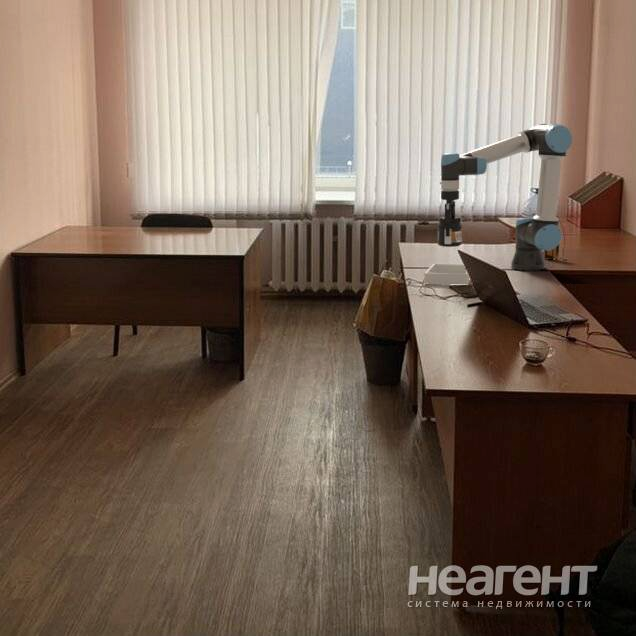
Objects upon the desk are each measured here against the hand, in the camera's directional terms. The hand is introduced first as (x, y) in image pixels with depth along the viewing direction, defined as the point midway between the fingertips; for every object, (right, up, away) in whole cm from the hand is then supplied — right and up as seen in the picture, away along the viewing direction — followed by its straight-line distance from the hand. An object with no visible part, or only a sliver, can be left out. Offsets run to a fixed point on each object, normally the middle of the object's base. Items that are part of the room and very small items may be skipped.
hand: (449, 242), depth 431 cm
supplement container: (0, -2, 0) cm, 2 cm away
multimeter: (+57, -4, +51) cm, 77 cm away
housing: (0, -16, +4) cm, 17 cm away
